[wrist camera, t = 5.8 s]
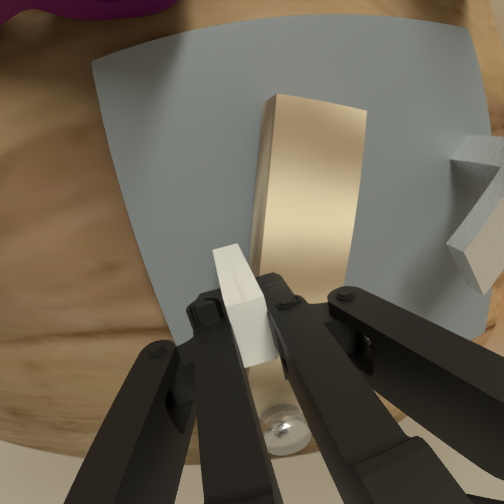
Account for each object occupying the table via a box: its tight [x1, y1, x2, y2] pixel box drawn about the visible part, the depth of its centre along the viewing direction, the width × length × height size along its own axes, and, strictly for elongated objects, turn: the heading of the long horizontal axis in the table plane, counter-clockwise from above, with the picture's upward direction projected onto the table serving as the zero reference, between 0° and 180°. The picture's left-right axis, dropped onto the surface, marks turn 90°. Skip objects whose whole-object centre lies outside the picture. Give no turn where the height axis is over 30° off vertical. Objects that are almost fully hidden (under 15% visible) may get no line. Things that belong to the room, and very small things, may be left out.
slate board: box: [91, 14, 492, 346], centre depth 20 cm, size 27×28×2 cm
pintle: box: [259, 404, 311, 455], centre depth 19 cm, size 6×6×6 cm
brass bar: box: [245, 94, 367, 425], centre depth 18 cm, size 20×5×3 cm, turn 175°
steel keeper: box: [446, 135, 504, 296], centre depth 17 cm, size 10×4×6 cm, turn 135°
